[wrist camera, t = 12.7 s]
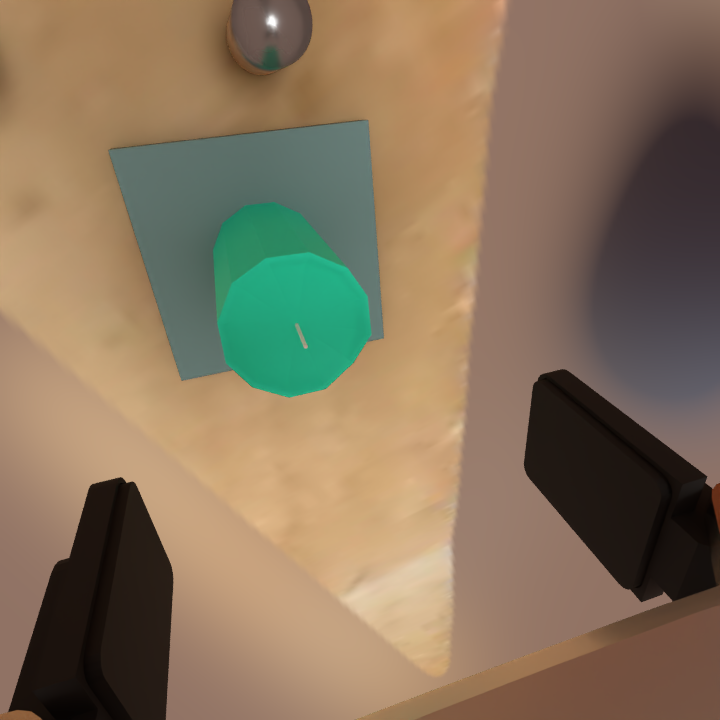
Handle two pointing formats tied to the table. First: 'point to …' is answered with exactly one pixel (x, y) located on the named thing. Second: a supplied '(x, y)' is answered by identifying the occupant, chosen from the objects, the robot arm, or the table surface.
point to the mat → (227, 196)
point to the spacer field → (268, 33)
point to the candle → (285, 302)
